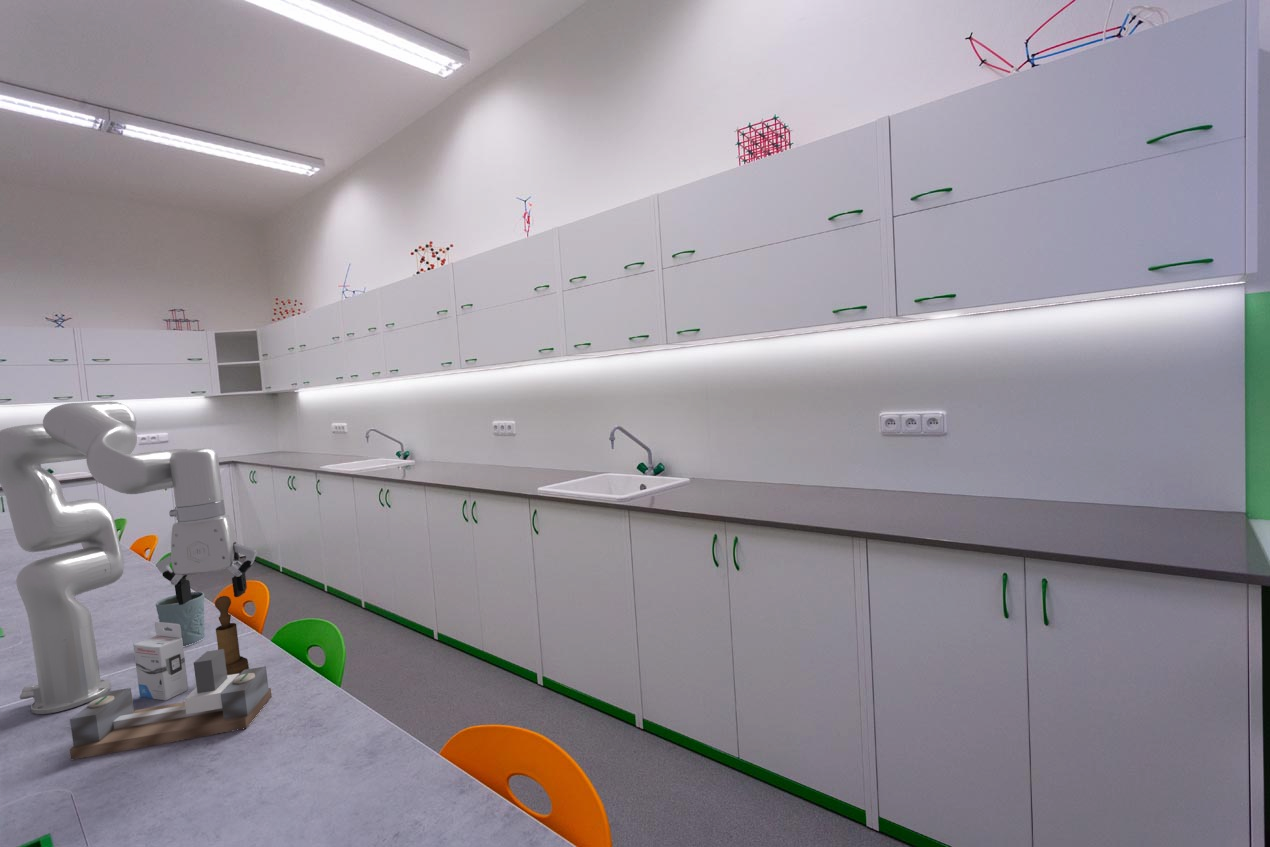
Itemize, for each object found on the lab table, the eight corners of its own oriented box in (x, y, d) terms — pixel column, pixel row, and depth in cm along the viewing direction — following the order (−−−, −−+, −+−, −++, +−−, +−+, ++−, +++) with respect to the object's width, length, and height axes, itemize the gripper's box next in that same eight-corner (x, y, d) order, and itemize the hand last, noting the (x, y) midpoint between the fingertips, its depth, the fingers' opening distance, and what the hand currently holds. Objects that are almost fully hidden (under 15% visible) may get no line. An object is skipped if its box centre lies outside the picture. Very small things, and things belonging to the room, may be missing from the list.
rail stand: (71, 760, 104) (65, 718, 104) (115, 723, 116) (110, 686, 115) (246, 728, 110) (241, 689, 109) (271, 696, 122) (267, 661, 121)
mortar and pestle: (230, 681, 130) (221, 602, 129) (206, 680, 132) (196, 602, 131) (255, 667, 137) (246, 591, 136) (232, 666, 138) (223, 591, 137)
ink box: (138, 697, 126) (129, 630, 125) (163, 685, 131) (154, 621, 130) (165, 701, 123) (156, 633, 123) (189, 689, 128) (181, 623, 127)
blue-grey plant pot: (152, 648, 153) (146, 603, 153) (194, 632, 163) (188, 590, 162) (177, 652, 150) (171, 606, 149) (218, 635, 159) (212, 592, 158)
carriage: (186, 714, 109) (180, 667, 109) (207, 693, 117) (202, 649, 117) (222, 708, 111) (216, 661, 110) (241, 687, 118) (235, 644, 118)
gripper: (138, 522, 109) (151, 612, 110) (241, 510, 112) (252, 598, 113) (163, 514, 116) (174, 599, 117) (258, 503, 119) (269, 586, 120)
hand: (213, 598), depth 115 cm, fingers open, 9 cm apart
